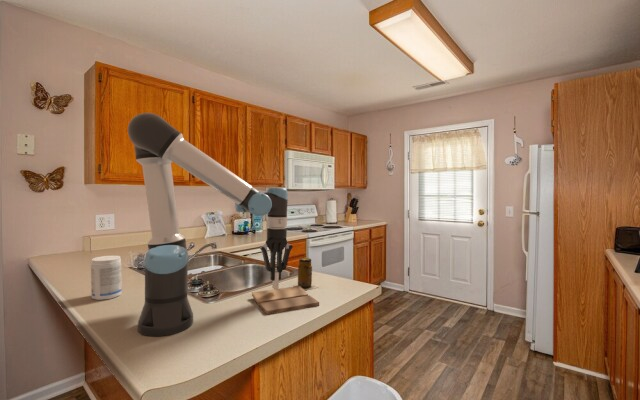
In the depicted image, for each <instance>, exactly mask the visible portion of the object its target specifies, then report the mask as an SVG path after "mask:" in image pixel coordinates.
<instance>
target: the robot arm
mask: <svg viewBox="0 0 640 400" xmlns="http://www.w3.org/2000/svg"><path fill="white" fill-rule="evenodd" d="M127 134H128V135H127V136H128V137H129V140H130V142H131V143H132V144H133V147H134V153H135V154H134V155H135V161H136V162H137V163H139V164H140V165H141V167H142V174H143V181H144V187H145V195H146V196H145V197H146V203H147V211H148V218H149V224H150V231H151V233H150V234H151V237H150V239H149V240H148V241H147V247H148V248H147V249H148V250H147V251H146V253H145V255H144V261H143V265H144V304H143V307H142V310H141V312H140V316H139V318H138V321H137V332H138V333H139V334H141V335H142V336H143V335H144V336H148V337H161V336H162V337H164V336H168V335H169V336H170V335H174V334H178V333H180V332H183V331H185V330H187V329H188V328H189V327H191V326H192V325H193V324H194V313H193V310H192V306H191V304H190V301H189V298H188V284H189V283H188V280H189V279H188V277H189V276H188V274H189V273H188V271H189V270H188V268H189V260H190V259H189V252H188V249H187V243H186V242H187V241H186V237H185V235H183V234H182V233H181V232H180V223H179V217H178V216H179V215H178V209H177V202H176V194H175V185H174V177H173V171H172V170H173V169H172V163H174V164H176V165H177V166H179V167H180V168H182V169H184V170H185V171H186V172H188V173H189V174H191V175H192V176H193V177H195V178H197V179H198V180H200V181H201V182H203V183H204V184H206V185H208V186H210V187H211V188H213V189H214V190H215V191H217V192H219V193H220V194H222V195H223V196H225V197H226V198H228V199H229V200H231V201H233V202H234V204H235V206H234V208H235V211H236V212H237V213H250V214H252V215H253V216H255V217H262V216H263V217H264V216H265V215H267V221H266V226H267V230H266V241H265V243H264V244H263V245H260V246H259V249H260V252H261V253H262V257H263V261H264V267H265V270H266V271H267V272H270V278H269V279H270V281H272V286H271V287H272V290H273V289H275V290H276V289H279V283H280V282H279V281H280V280H281V279H282V272H283V271H285V270H286V269H287V266H288V261H289V258H290V253H291V250H292V249H293V247H294V246H293V245H292V244H290V243H288V240H287V236H288V235H287V234H288V232H287V231H288V230H287V226H288V201H289V200H288V199H289V198H288V197H289V196H288V195H289V194H288V189H287V188H286V187H285V188H284V187H269V188H267V192H261V191H260V190H259V189H257V188H256V187H254V186H253V185H251V184H249V183H248V182H247V181H246V180H244V179H243V178H241V177H239V176H238V175H236V174H235V173H234V172H233V171H231V170H230V169H229V168H227V167H225V166H224V165H222V164H220V162H218V161H217V160H216V159H214V158H212V157H210V156H209V155H207V153H205V152H204V151H202V150H200V149H199V148H197V147H196V146H195V145H193V144H192V143H190V142H189V141H187V140H186V139H185V138H184V135H183V133H182V132H180V131H179V130H177V129H176V127H175V128H174V126H172V125H171V124H170V123H168V122H167V120H165V119H164V118H163V117H161V116H160V115H159V114H155V113H153V112H143V113H138V114H136V115H135V116H133V118H132V119H130V121H129V122H128V125H127ZM268 249H269V253H270V259H269V255H268ZM284 249H285V250H284ZM283 252H284V253H283Z"/></svg>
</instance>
